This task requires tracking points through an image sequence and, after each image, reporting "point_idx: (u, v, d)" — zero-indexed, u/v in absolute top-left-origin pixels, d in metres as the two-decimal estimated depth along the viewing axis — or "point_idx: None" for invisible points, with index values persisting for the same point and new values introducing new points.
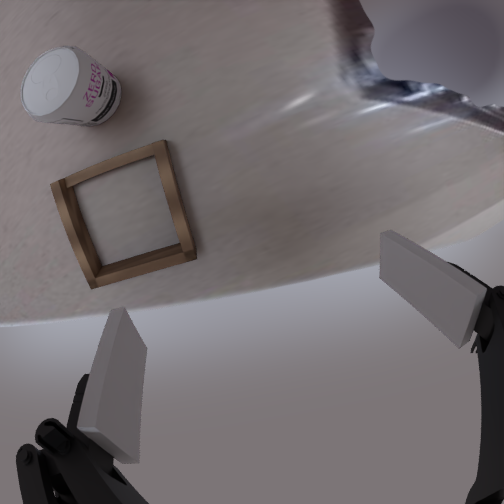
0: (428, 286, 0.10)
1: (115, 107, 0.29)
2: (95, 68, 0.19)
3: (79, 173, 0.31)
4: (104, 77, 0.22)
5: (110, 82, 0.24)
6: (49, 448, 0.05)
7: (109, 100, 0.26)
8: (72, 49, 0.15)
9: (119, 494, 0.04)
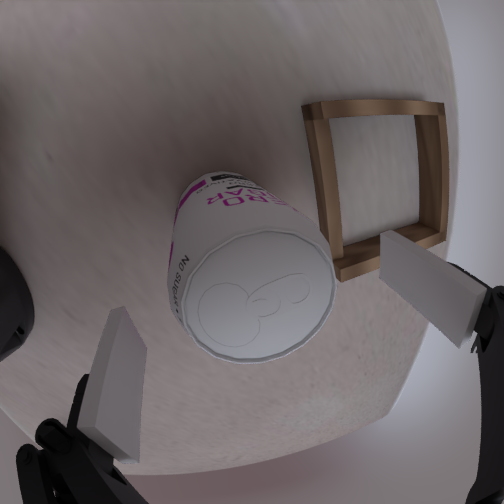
0: (428, 286, 0.10)
1: None
2: (227, 199, 0.13)
3: (331, 236, 0.26)
4: (226, 186, 0.16)
5: (223, 180, 0.18)
6: (49, 448, 0.05)
7: None
8: (191, 259, 0.11)
9: (119, 494, 0.04)
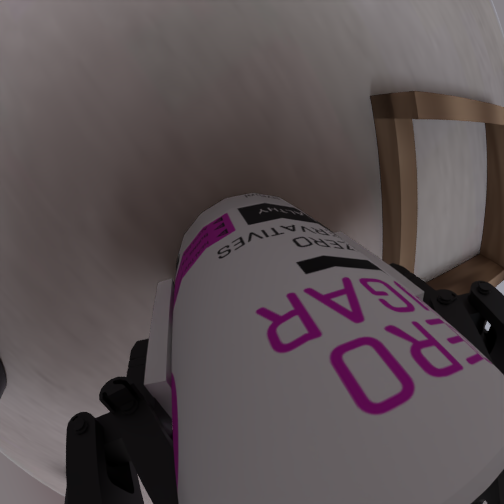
0: None
1: (297, 208, 0.14)
2: (342, 349, 0.04)
3: None
4: (295, 258, 0.07)
5: (272, 226, 0.09)
6: (112, 407, 0.06)
7: (318, 223, 0.10)
8: None
9: None
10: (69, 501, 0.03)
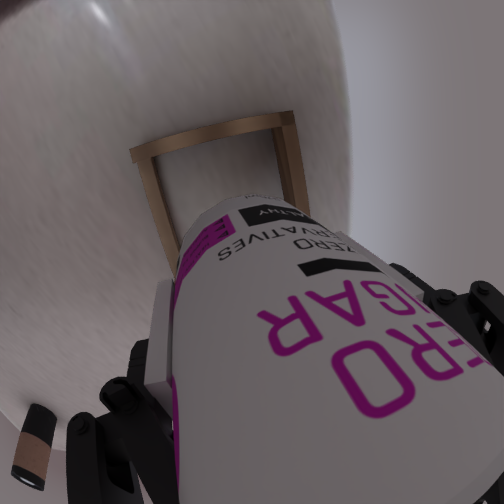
0: None
1: (297, 209, 0.14)
2: (343, 353, 0.04)
3: (169, 258, 0.30)
4: (296, 260, 0.07)
5: (273, 228, 0.09)
6: (112, 407, 0.06)
7: (319, 225, 0.10)
8: None
9: None
10: (69, 501, 0.03)
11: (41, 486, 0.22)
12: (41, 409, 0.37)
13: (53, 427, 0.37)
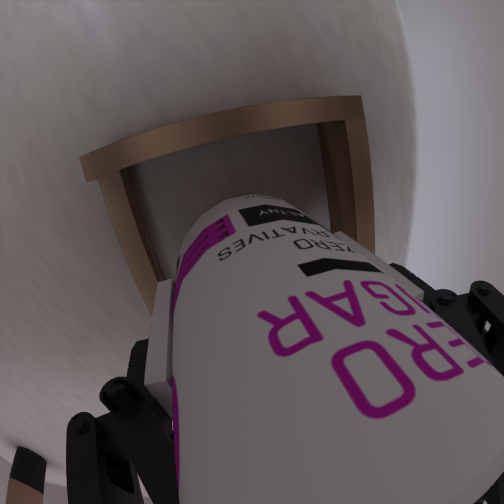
0: None
1: (297, 209, 0.14)
2: (344, 353, 0.04)
3: None
4: (296, 260, 0.07)
5: (273, 228, 0.09)
6: (112, 407, 0.06)
7: (319, 225, 0.10)
8: None
9: None
10: (69, 501, 0.03)
11: None
12: (29, 453, 0.26)
13: (43, 472, 0.26)
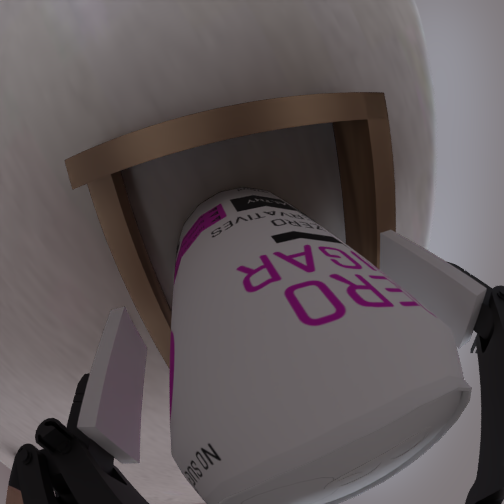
0: (428, 286, 0.10)
1: None
2: (294, 287, 0.06)
3: (160, 344, 0.17)
4: (271, 233, 0.08)
5: (257, 212, 0.11)
6: (49, 448, 0.05)
7: (298, 211, 0.12)
8: (225, 460, 0.04)
9: (119, 494, 0.04)
10: None
11: None
12: None
13: None
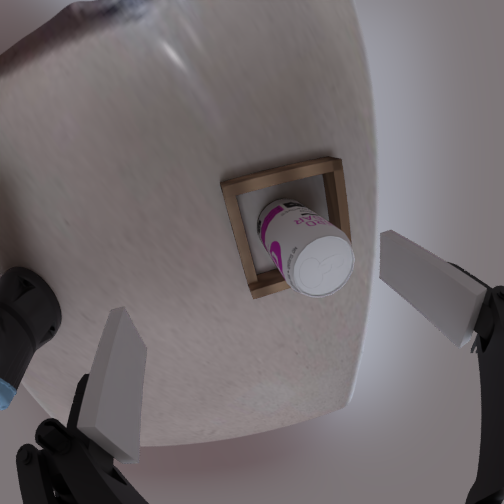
0: (428, 286, 0.10)
1: (300, 203, 0.38)
2: (307, 222, 0.28)
3: (246, 269, 0.40)
4: (300, 213, 0.31)
5: (294, 208, 0.34)
6: (49, 448, 0.05)
7: None
8: (298, 248, 0.27)
9: (119, 494, 0.04)
10: None
11: None
12: None
13: None
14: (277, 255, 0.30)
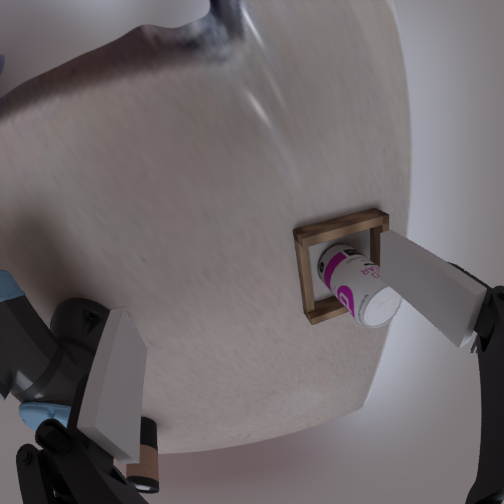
0: (428, 286, 0.10)
1: (353, 248, 0.46)
2: (372, 273, 0.36)
3: (307, 300, 0.47)
4: (363, 263, 0.39)
5: (355, 256, 0.41)
6: (49, 448, 0.05)
7: (362, 255, 0.42)
8: (369, 295, 0.34)
9: (119, 494, 0.04)
10: None
11: (158, 488, 0.39)
12: (146, 420, 0.54)
13: (156, 434, 0.54)
14: (348, 297, 0.37)
